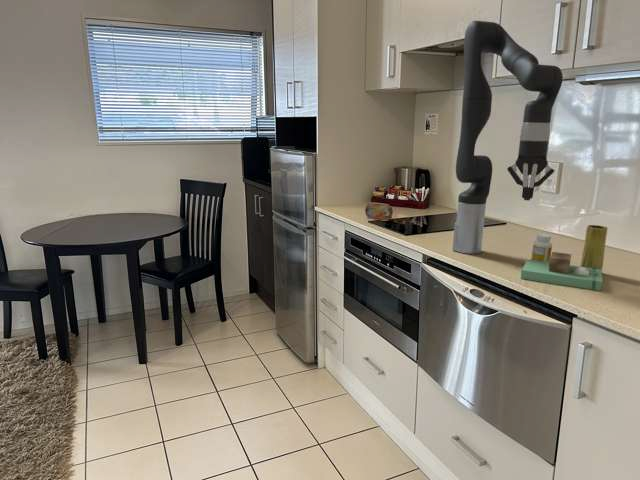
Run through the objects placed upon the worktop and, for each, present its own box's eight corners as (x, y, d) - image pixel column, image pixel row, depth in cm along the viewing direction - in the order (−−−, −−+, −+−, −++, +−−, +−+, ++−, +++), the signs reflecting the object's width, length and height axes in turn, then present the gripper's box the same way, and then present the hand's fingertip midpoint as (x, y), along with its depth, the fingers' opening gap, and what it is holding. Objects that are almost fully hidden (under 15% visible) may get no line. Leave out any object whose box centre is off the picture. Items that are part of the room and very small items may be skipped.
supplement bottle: (544, 262, 153) (547, 233, 151) (552, 267, 148) (556, 237, 145) (527, 262, 153) (531, 233, 150) (535, 267, 147) (539, 237, 145)
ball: (591, 271, 131) (581, 282, 131) (593, 274, 134) (583, 284, 135) (579, 263, 133) (569, 273, 134) (580, 265, 136) (570, 276, 137)
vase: (580, 274, 141) (587, 227, 138) (577, 269, 146) (584, 224, 143) (603, 276, 139) (611, 229, 136) (599, 271, 144) (607, 225, 141)
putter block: (548, 271, 135) (550, 257, 134) (550, 264, 141) (552, 251, 140) (568, 274, 132) (570, 260, 131) (569, 267, 139) (571, 254, 138)
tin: (364, 218, 226) (365, 201, 224) (369, 217, 228) (369, 200, 226) (389, 223, 215) (389, 205, 213) (393, 222, 217) (394, 204, 215)
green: (520, 278, 136) (521, 270, 135) (526, 267, 148) (527, 259, 147) (600, 290, 126) (602, 281, 126) (600, 277, 138) (601, 269, 137)
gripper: (561, 140, 134) (552, 200, 138) (511, 138, 140) (504, 196, 144) (559, 140, 127) (550, 203, 131) (507, 138, 133) (500, 199, 137)
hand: (526, 200), depth 138 cm, fingers closed
